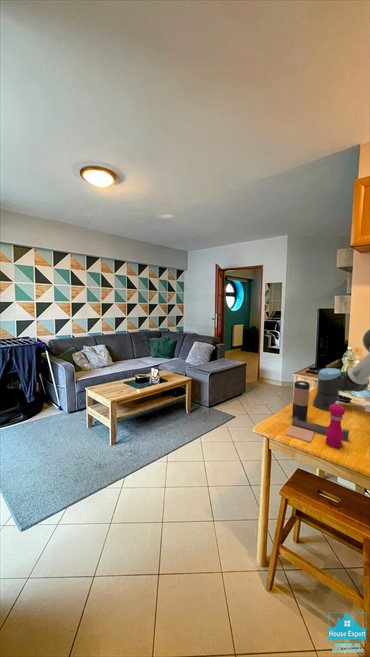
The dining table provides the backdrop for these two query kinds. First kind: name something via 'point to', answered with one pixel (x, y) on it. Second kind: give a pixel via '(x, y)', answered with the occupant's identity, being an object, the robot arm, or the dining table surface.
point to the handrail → (315, 427)
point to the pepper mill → (335, 426)
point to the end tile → (300, 433)
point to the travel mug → (300, 400)
